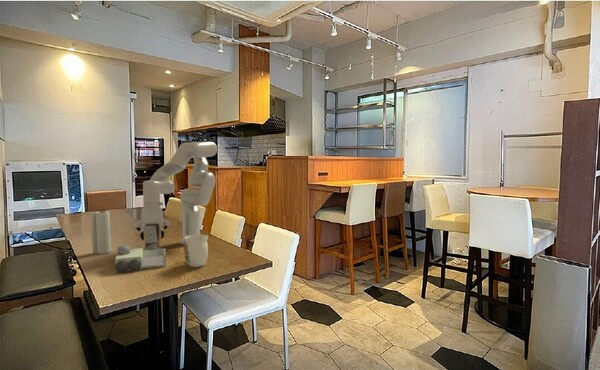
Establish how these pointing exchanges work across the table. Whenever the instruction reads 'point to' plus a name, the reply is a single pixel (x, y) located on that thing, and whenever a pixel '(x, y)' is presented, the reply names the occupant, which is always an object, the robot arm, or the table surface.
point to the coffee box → (152, 237)
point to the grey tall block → (101, 232)
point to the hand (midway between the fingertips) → (152, 239)
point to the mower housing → (128, 259)
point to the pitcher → (196, 250)
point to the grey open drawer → (153, 258)
